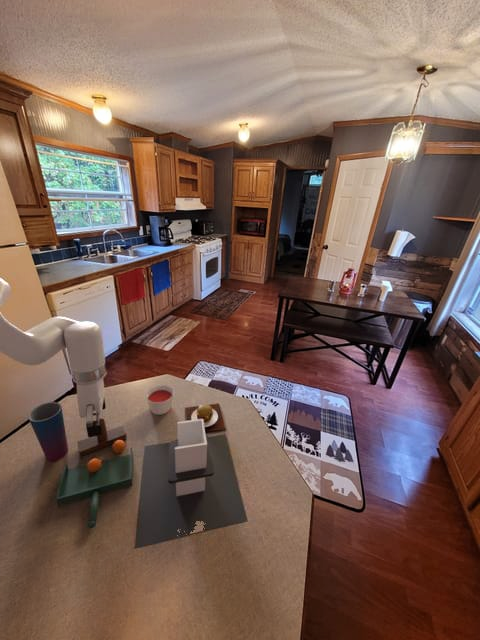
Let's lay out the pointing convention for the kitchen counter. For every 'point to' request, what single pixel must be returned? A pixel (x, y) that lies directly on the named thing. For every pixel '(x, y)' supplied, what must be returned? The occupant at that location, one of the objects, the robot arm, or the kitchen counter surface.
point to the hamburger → (207, 416)
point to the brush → (101, 440)
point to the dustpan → (95, 483)
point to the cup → (50, 430)
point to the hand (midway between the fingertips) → (97, 421)
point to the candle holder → (187, 486)
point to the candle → (160, 399)
